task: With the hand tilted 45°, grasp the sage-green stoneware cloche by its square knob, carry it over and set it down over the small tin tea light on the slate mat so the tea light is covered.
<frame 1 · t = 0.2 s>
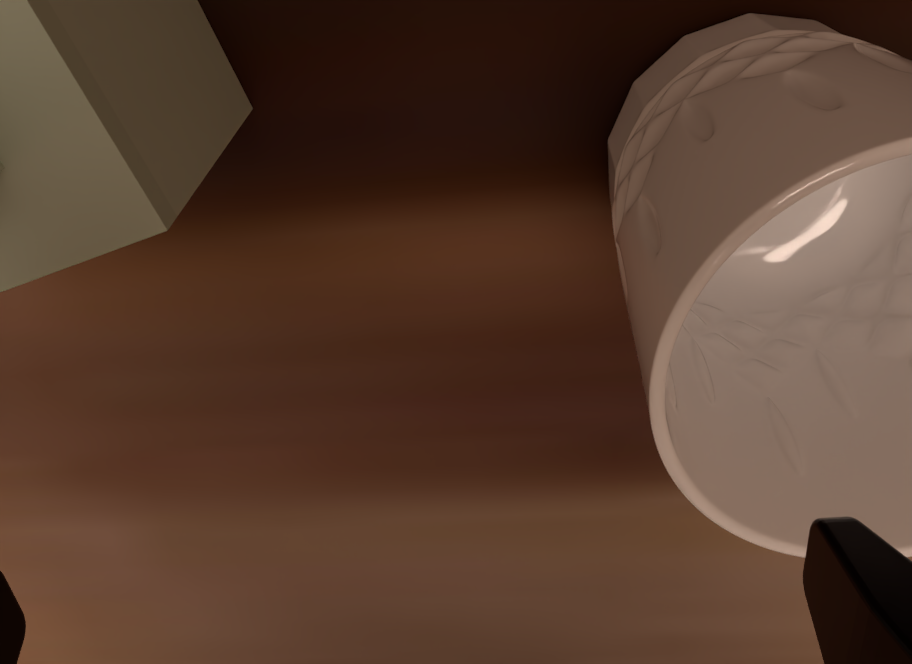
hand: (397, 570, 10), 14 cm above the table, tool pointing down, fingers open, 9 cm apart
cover: (68, 30, 20), on the table
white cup: (738, 148, 22), on the table
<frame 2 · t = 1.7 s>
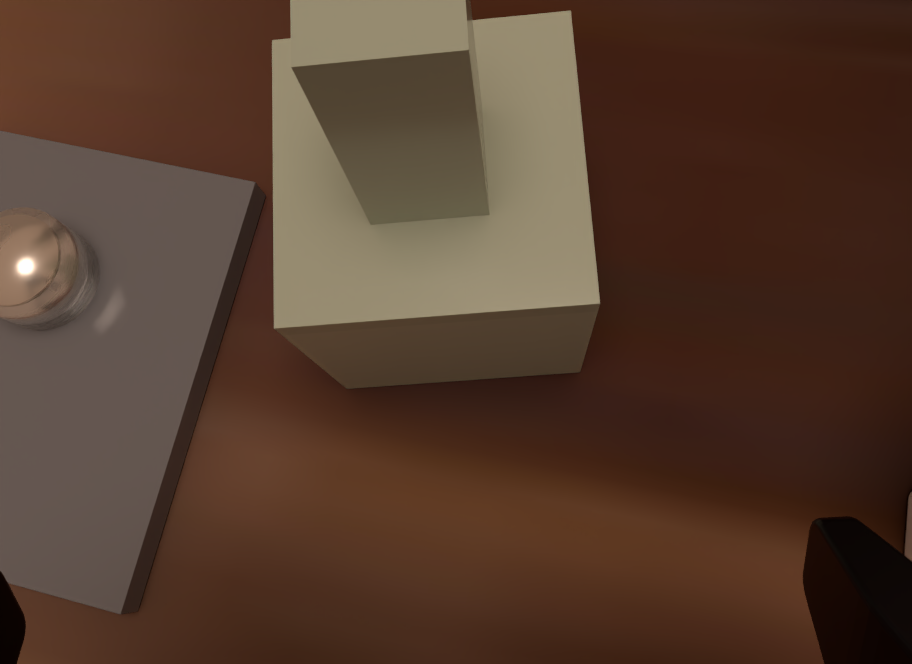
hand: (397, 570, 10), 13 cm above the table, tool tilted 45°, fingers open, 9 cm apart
slate mat: (58, 358, 25), on the table
tea light: (47, 278, 24), resting on slate mat
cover: (455, 269, 24), on the table
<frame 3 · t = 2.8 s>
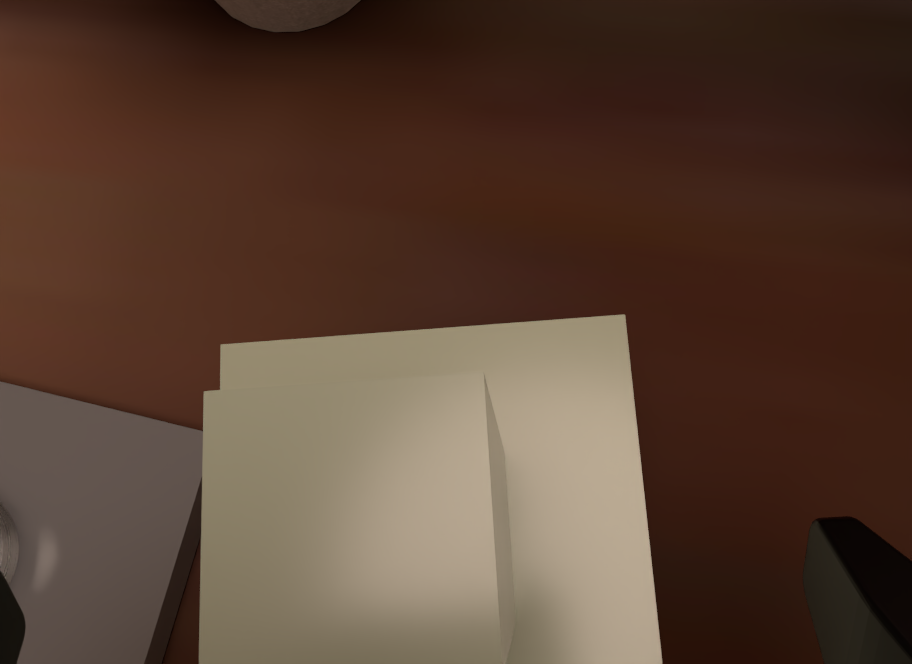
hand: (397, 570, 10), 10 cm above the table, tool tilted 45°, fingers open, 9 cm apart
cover: (464, 543, 20), on the table
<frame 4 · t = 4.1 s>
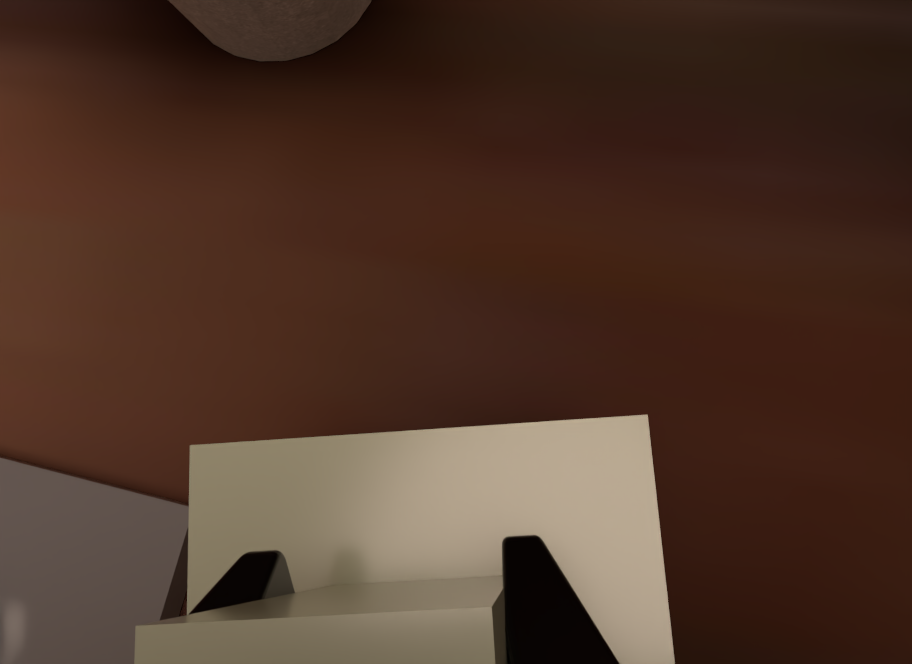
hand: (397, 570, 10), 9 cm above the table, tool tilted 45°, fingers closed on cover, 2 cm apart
house plant: (280, 23, 22), on the table
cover: (464, 626, 18), on the table, touching gripper
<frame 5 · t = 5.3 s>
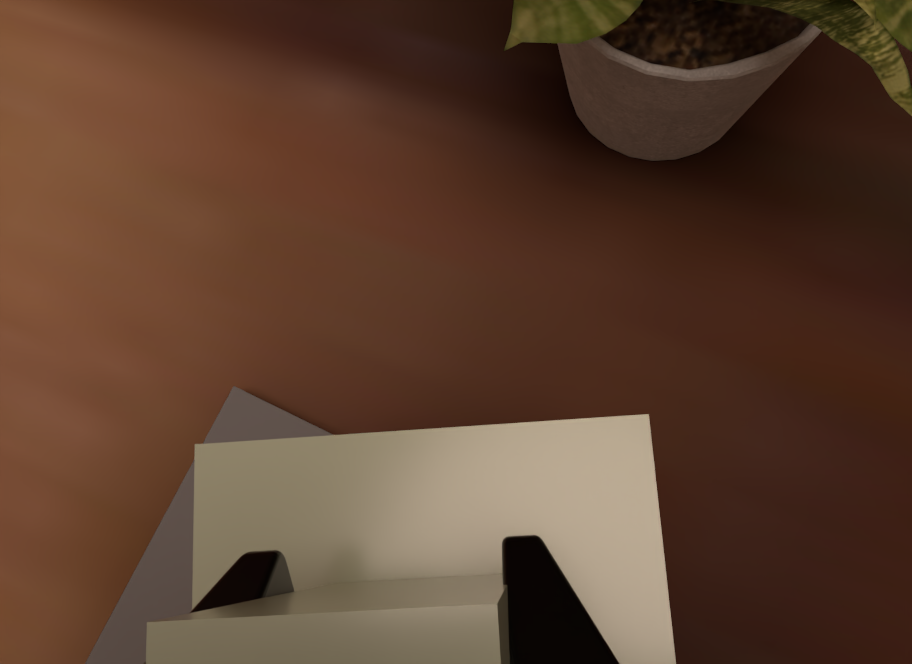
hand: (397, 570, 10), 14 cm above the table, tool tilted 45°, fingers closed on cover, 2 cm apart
house plant: (649, 124, 25), on the table
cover: (466, 624, 18), point 4 cm above the table, touching gripper
when the fingers open (11 cm above the table, at t = 6.4 s): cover stays where it is, resting on slate mat.
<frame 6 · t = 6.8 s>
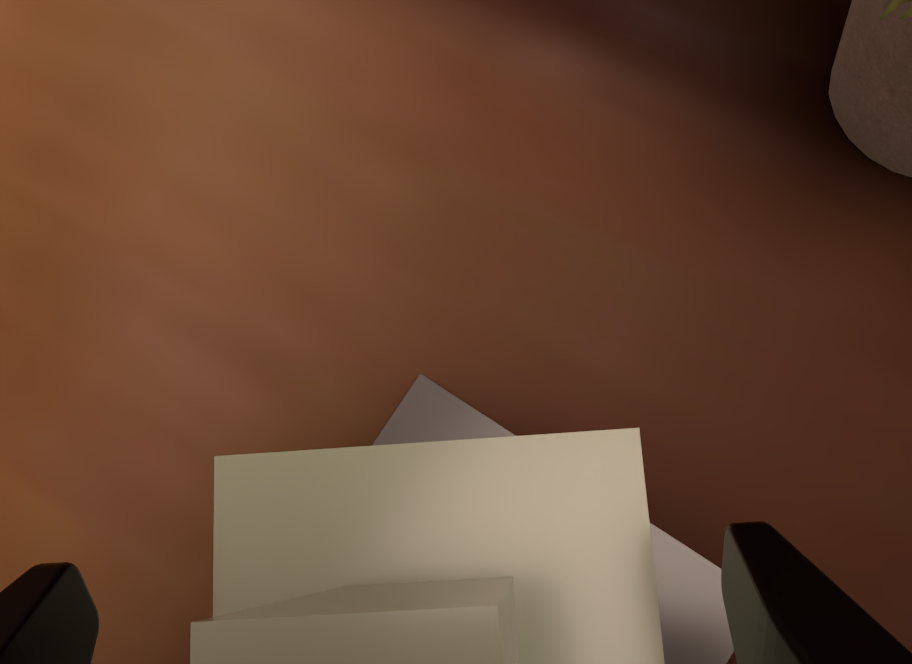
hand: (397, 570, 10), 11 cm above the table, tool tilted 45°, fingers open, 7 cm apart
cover: (468, 624, 19), point 1 cm above the table, touching slate mat
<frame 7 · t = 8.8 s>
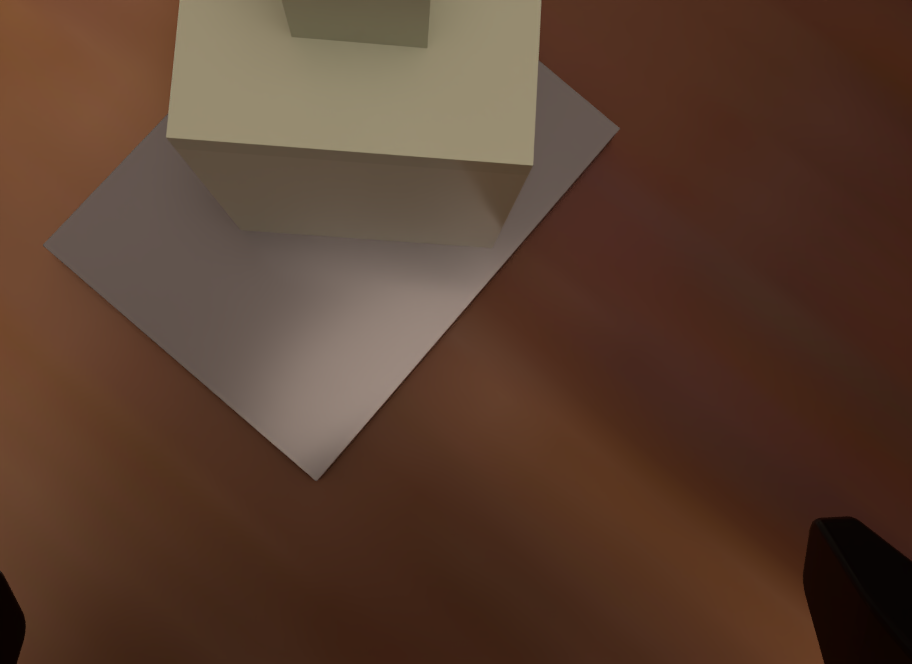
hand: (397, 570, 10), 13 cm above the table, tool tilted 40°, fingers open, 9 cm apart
slate mat: (342, 195, 23), on the table
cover: (376, 118, 22), point 1 cm above the table, touching slate mat
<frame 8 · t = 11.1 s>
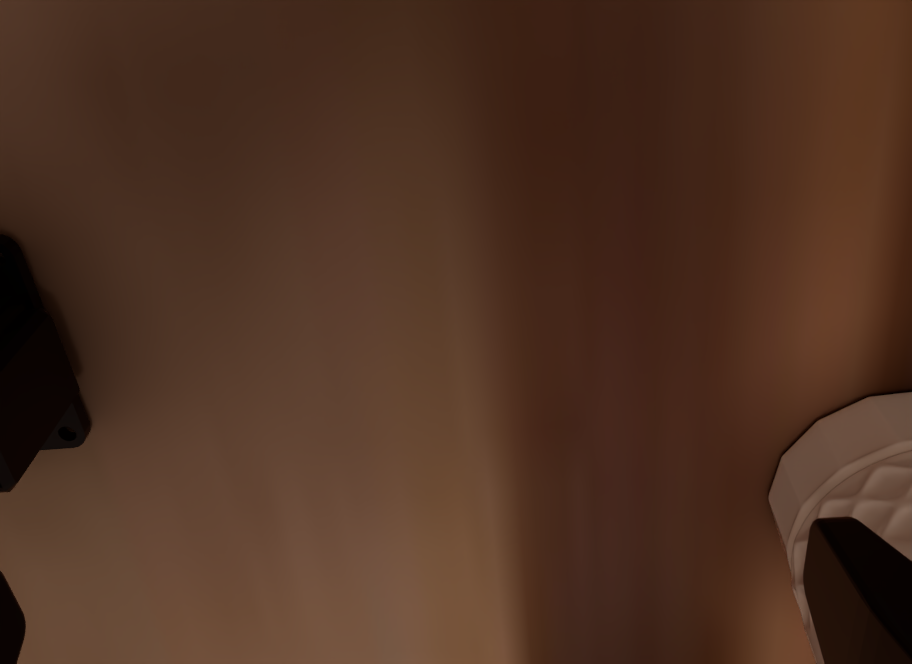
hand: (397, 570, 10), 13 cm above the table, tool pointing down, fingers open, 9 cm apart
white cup: (880, 476, 26), on the table
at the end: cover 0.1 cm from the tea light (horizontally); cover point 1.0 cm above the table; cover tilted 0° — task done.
